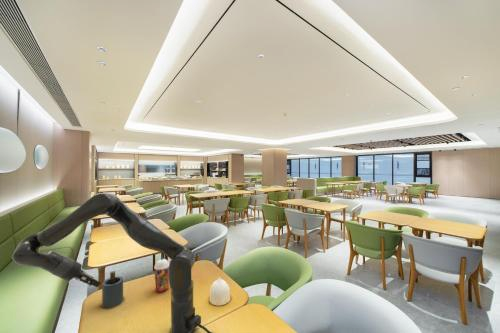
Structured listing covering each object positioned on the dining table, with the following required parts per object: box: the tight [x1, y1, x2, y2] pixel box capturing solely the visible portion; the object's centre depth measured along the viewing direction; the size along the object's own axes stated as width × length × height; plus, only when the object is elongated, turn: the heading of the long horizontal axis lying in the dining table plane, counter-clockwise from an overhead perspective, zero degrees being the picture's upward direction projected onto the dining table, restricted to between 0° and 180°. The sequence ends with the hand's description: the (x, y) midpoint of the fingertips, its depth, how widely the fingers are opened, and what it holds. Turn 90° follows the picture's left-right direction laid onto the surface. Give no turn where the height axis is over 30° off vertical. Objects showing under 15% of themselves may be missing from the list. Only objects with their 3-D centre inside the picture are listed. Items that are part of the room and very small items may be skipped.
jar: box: [101, 276, 124, 309], centre depth 110 cm, size 9×9×11 cm
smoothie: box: [153, 253, 170, 293], centre depth 121 cm, size 8×8×20 cm
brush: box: [109, 270, 116, 284], centre depth 110 cm, size 5×5×15 cm
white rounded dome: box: [209, 276, 231, 306], centre depth 113 cm, size 11×11×12 cm
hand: (95, 282), depth 103 cm, fingers open, 8 cm apart
